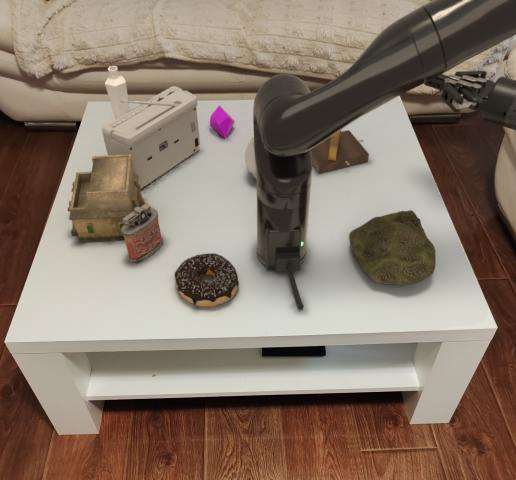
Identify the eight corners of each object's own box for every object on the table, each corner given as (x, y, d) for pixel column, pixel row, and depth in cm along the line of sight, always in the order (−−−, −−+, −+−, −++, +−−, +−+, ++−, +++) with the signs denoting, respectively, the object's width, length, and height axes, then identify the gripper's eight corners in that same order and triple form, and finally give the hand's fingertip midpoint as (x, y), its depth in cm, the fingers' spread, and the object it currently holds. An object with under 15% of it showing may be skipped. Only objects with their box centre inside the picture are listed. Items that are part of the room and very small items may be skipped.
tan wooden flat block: (335, 160, 123) (339, 130, 117) (328, 159, 123) (331, 129, 117) (340, 134, 129) (344, 105, 123) (333, 134, 129) (337, 104, 123)
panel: (317, 180, 122) (318, 172, 120) (292, 144, 130) (292, 136, 128) (376, 166, 125) (378, 157, 123) (348, 132, 133) (349, 123, 131)
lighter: (155, 236, 112) (146, 195, 104) (167, 243, 110) (160, 202, 102) (124, 258, 108) (113, 217, 100) (137, 266, 107) (126, 225, 99)
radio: (179, 137, 132) (168, 50, 116) (205, 150, 129) (197, 62, 113) (112, 180, 122) (89, 92, 106) (138, 196, 119) (119, 107, 103)
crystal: (207, 131, 133) (205, 113, 130) (221, 121, 136) (220, 103, 132) (224, 139, 131) (223, 121, 128) (238, 129, 134) (238, 111, 130)
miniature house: (150, 194, 120) (141, 146, 110) (147, 239, 111) (137, 192, 102) (78, 198, 119) (63, 150, 110) (70, 244, 110) (53, 196, 101)
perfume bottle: (113, 128, 134) (99, 65, 122) (131, 124, 136) (118, 61, 124) (119, 138, 132) (104, 75, 120) (137, 134, 133) (124, 71, 121)
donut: (209, 255, 108) (208, 240, 105) (252, 288, 103) (251, 272, 100) (164, 285, 104) (161, 270, 101) (206, 320, 99) (204, 305, 95)
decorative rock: (353, 299, 103) (355, 263, 95) (347, 236, 112) (348, 198, 104) (437, 294, 102) (446, 257, 94) (424, 231, 111) (431, 191, 102)
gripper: (536, 69, 101) (445, 43, 107) (511, 102, 94) (415, 72, 100) (520, 108, 107) (435, 81, 113) (495, 142, 100) (406, 111, 106)
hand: (426, 77), depth 107 cm, fingers closed
